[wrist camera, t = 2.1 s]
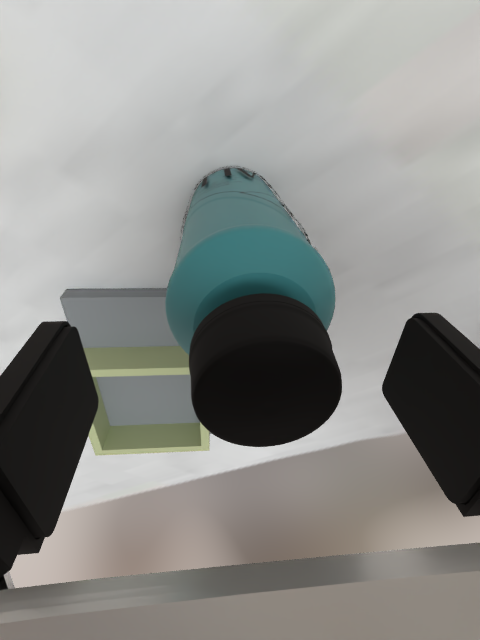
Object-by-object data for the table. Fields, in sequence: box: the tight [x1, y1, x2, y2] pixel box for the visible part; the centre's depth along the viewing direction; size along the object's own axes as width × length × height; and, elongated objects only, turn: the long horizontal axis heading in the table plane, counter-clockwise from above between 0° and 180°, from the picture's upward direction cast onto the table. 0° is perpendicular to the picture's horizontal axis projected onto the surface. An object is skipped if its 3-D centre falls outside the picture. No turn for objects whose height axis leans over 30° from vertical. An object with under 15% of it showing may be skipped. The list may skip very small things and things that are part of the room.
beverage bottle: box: [165, 166, 342, 447], centre depth 16 cm, size 6×7×20 cm
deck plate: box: [60, 289, 212, 455], centre depth 31 cm, size 19×18×4 cm
